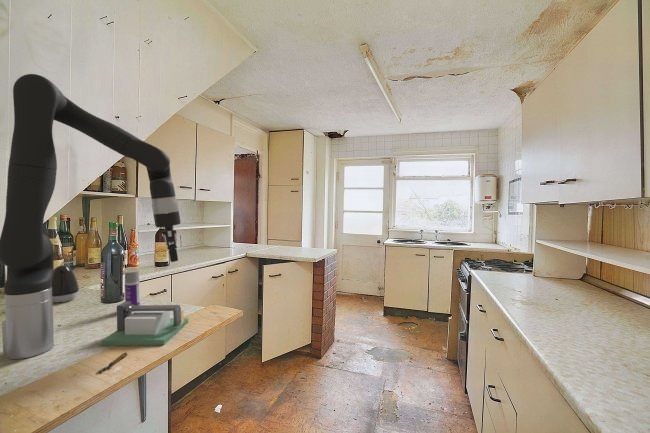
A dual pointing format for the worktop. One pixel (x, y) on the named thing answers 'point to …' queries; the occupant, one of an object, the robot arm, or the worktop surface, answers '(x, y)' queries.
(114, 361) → the can opener
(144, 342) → the cpu board
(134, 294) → the container
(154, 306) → the strap
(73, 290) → the black tall dome
